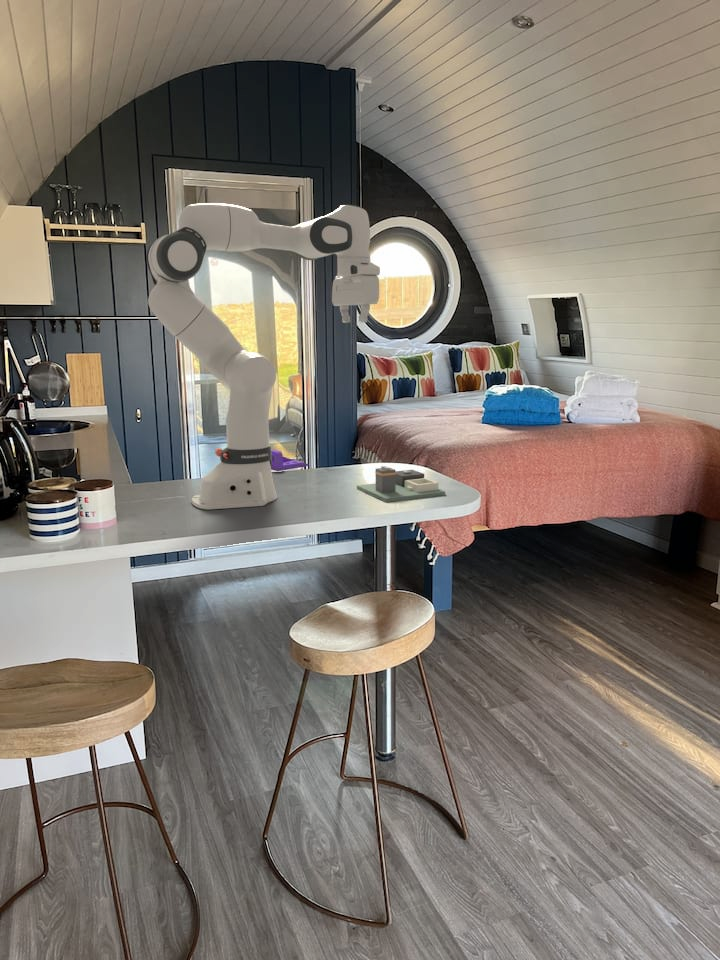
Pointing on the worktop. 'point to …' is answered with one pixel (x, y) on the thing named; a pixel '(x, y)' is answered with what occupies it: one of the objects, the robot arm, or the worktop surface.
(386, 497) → the board
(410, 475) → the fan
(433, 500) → the worktop surface
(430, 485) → the cream shallow tray
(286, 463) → the purple shoe
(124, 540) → the worktop surface
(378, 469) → the grey upright block
